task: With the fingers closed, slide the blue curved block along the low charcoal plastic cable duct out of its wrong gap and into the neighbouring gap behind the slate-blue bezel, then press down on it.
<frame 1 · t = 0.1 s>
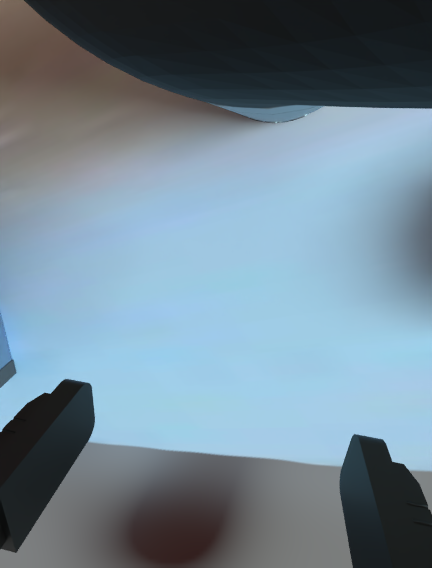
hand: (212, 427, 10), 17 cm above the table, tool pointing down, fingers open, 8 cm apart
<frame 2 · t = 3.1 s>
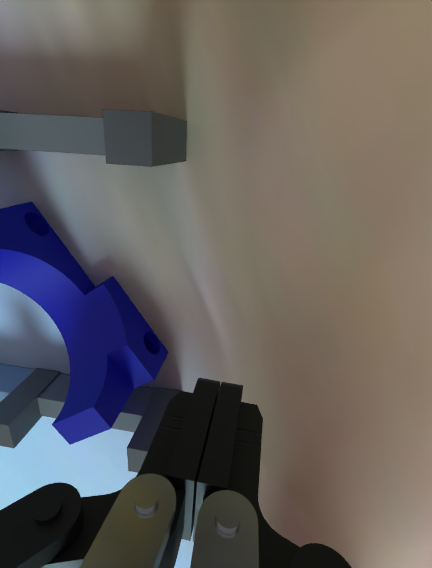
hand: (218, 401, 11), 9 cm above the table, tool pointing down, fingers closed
blue curved block: (90, 289, 21), on the table
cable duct: (31, 274, 21), on the table
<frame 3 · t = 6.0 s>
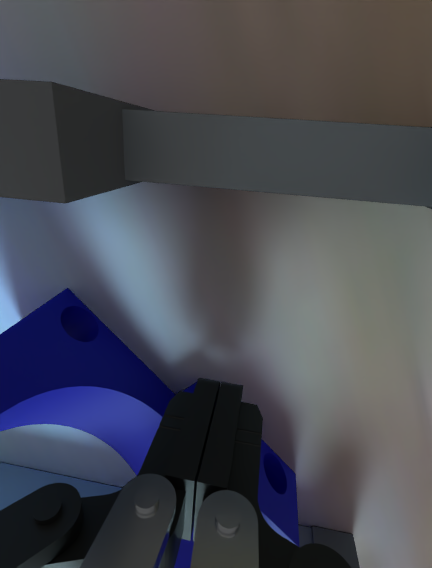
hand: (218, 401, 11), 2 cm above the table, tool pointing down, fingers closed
blue curved block: (166, 397, 14), on the table, touching gripper
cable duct: (138, 367, 13), on the table
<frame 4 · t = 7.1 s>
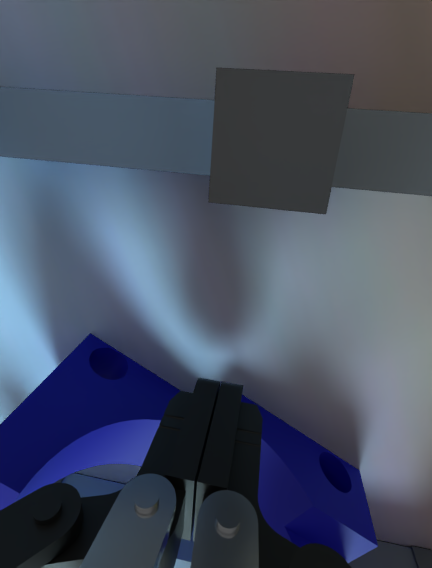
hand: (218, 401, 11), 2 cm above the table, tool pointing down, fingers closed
blue curved block: (208, 416, 14), on the table, touching gripper
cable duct: (245, 379, 13), on the table
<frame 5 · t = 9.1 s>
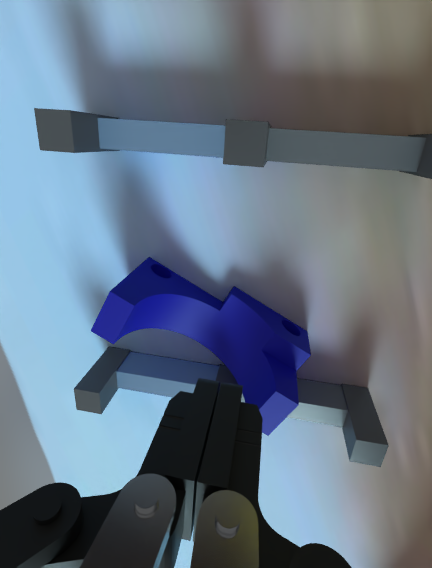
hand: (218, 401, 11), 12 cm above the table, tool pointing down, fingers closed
blue curved block: (218, 307, 24), on the table
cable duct: (240, 276, 22), on the table
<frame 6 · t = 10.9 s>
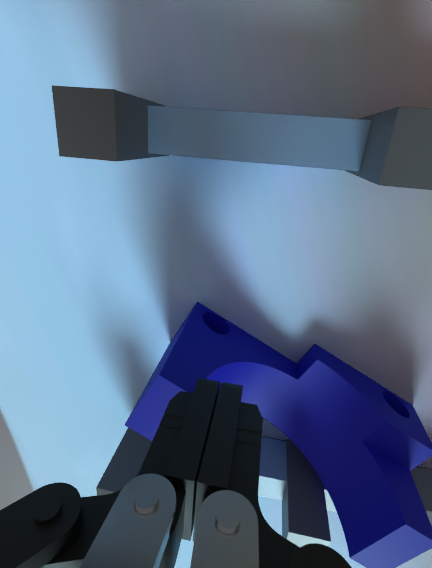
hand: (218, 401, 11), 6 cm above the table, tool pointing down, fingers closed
blue curved block: (287, 368, 18), on the table
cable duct: (329, 332, 16), on the table
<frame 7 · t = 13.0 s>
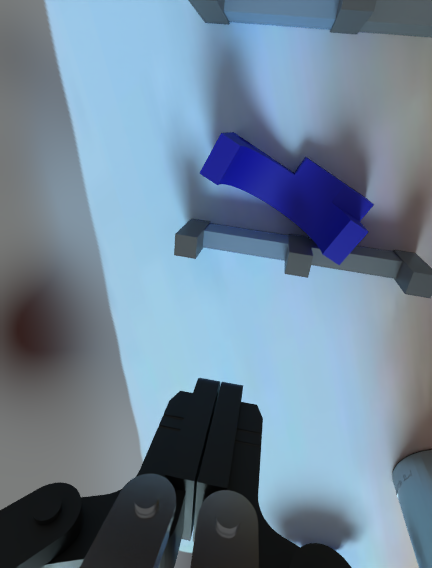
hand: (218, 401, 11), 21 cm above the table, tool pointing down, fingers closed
blue curved block: (288, 180, 28), on the table
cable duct: (318, 146, 26), on the table
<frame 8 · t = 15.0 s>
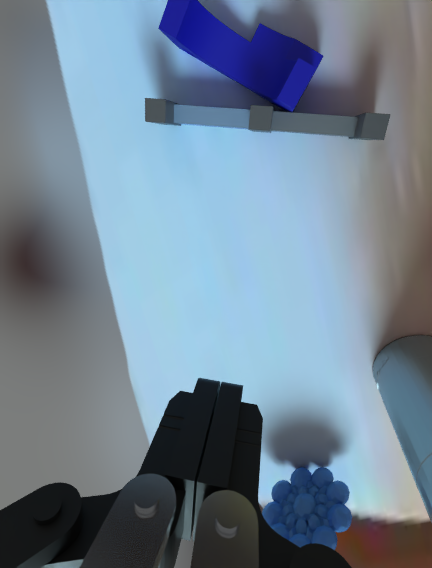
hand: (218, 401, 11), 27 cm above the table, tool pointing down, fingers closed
blue curved block: (248, 56, 30), on the table
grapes: (304, 472, 49), on the table
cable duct: (275, 14, 28), on the table
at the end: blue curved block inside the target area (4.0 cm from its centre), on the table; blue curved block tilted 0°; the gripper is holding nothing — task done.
